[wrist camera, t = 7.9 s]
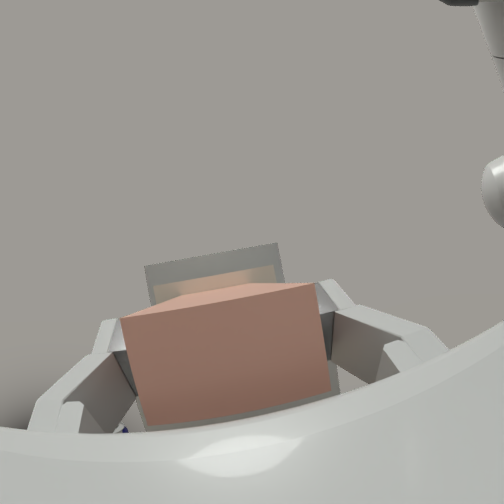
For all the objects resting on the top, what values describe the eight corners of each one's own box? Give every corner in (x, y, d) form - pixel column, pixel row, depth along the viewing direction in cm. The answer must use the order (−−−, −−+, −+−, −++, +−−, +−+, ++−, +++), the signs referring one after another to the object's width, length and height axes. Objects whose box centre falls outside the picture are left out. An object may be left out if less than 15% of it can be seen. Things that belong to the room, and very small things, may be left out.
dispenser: (318, 503, 27) (275, 244, 30) (354, 568, 15) (318, 217, 17) (218, 524, 26) (146, 267, 28) (224, 597, 13) (97, 256, 15)
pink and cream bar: (264, 308, 24) (256, 269, 25) (389, 370, 6) (369, 233, 6) (177, 324, 24) (170, 285, 24) (88, 428, 5) (52, 289, 6)
